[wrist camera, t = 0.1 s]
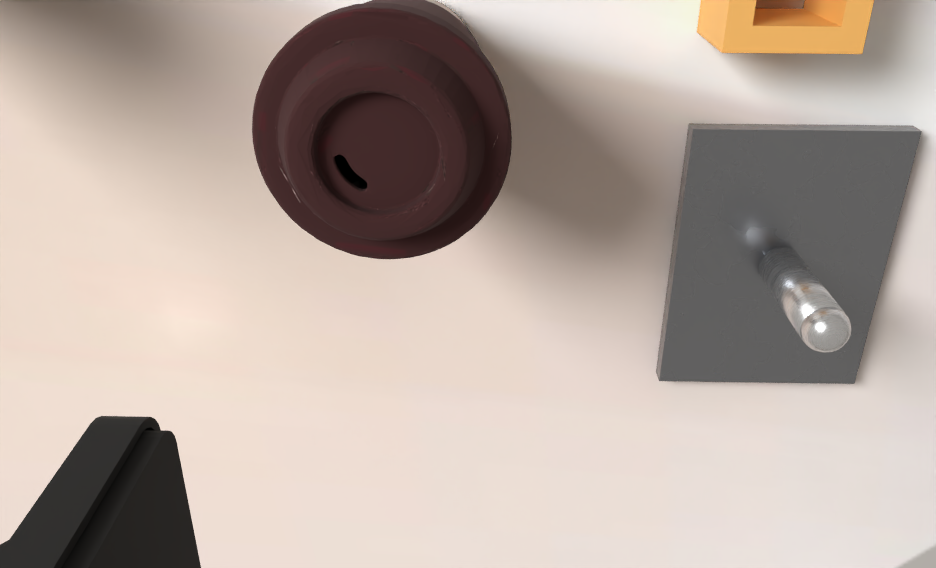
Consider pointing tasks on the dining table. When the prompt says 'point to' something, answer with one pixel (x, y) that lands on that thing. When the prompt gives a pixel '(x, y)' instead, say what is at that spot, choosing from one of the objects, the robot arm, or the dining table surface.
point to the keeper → (780, 250)
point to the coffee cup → (383, 129)
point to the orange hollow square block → (786, 26)
